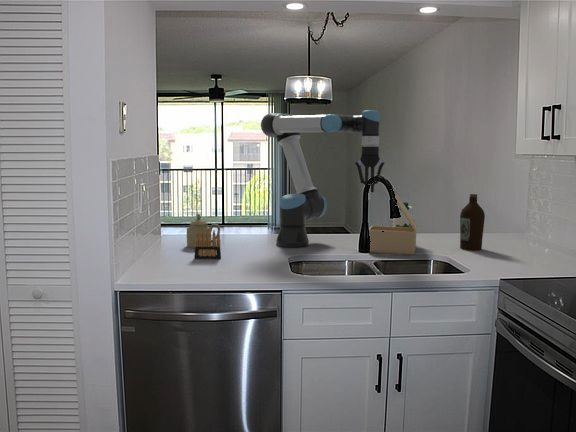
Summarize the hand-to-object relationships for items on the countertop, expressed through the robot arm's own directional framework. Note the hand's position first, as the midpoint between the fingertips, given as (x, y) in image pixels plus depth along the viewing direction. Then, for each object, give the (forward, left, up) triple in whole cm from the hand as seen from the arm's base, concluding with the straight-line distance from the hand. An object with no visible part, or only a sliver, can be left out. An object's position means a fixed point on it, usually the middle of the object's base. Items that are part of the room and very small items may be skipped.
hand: (369, 199), depth 253 cm
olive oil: (+45, +17, -23) cm, 53 cm away
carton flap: (+15, 0, -4) cm, 15 cm away
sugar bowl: (-73, -15, -23) cm, 78 cm away
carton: (+11, 0, -23) cm, 25 cm away
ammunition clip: (-60, -40, -23) cm, 76 cm away
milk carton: (+14, +19, -23) cm, 33 cm away
